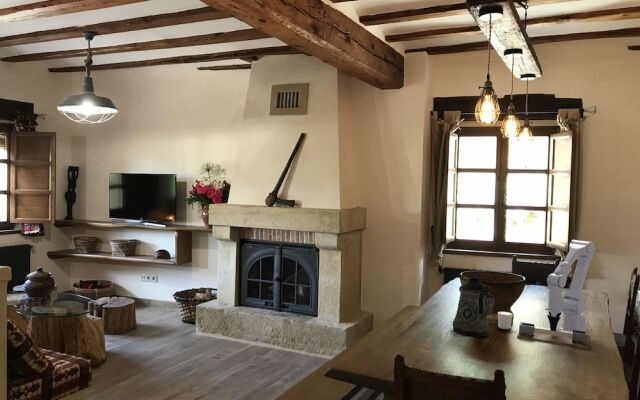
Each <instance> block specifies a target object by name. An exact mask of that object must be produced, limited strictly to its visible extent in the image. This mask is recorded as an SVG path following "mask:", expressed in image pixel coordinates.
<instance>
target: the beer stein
mask: <svg viewBox="0 0 640 400" xmlns="http://www.w3.org/2000/svg"><path fill="white" fill-rule="evenodd" d="M458 290H459V291H458V292H459V294H460V295H459V298H458V299H459V300H458V303H457V304H458V305H457V310H456V313H455V317H454V319H453V320H452V324H451V325H452V330H453V332H454V333H455V334H457V335H460V336H465V337H471V338H484V337H486V336H487V335H489V330H490V326H489V323H488V317H489V316H490V314H491V313H492V312H493V310H494V306H495V299H494V296H493V294H492V293H491V292H489V287H488V286H487V285H486V284H483V283H481V280H480V279H479V278H474V277H473V278H472V277H471V278H468V280H467V281H466V282H465V283H462V284H461V285H460V286H459V287H458ZM486 302H487V303H486ZM486 304H487V306H486Z"/></svg>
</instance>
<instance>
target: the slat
mask: <svg viewBox="0 0 640 400" xmlns="http://www.w3.org/2000/svg"><path fill="white" fill-rule="evenodd" d="M534 333H540V334H547V335H553V336H560V337H567V338H572V333H573V332H570V331H563V330H560V329H556V331H551V330H550V327H549V328H548V327H541V326H535V325H534Z"/></svg>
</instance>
